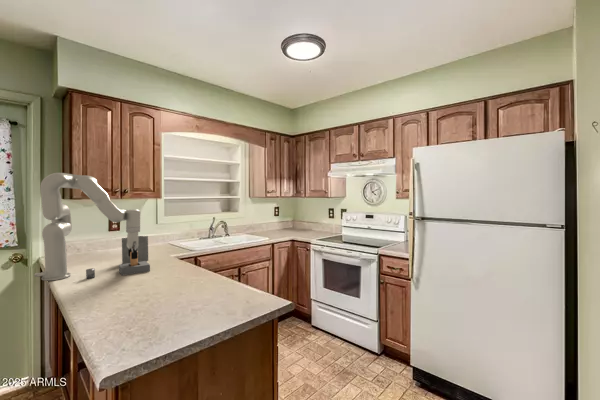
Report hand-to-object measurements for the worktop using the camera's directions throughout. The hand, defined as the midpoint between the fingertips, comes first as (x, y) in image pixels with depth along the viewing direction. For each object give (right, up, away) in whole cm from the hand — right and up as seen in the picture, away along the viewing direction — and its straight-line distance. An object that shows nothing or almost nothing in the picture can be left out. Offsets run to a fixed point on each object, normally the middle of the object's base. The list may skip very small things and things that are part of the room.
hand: (132, 257), depth 178 cm
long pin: (+1, -9, +1) cm, 9 cm away
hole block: (+1, -9, +1) cm, 9 cm away
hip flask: (-11, -8, +23) cm, 27 cm away
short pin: (-16, -9, -13) cm, 23 cm away
